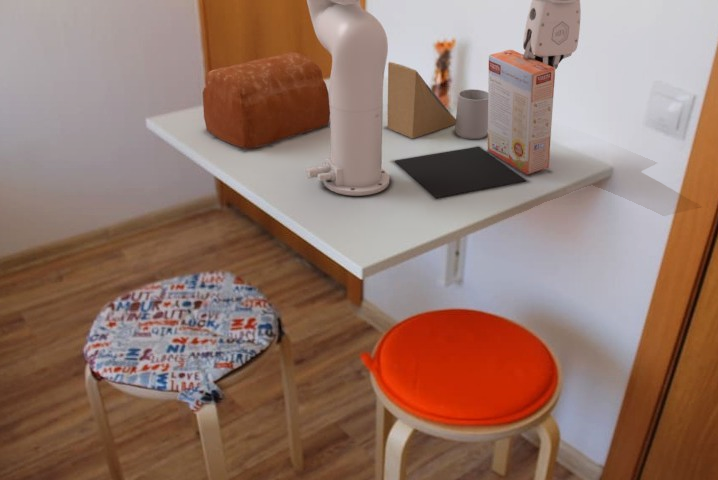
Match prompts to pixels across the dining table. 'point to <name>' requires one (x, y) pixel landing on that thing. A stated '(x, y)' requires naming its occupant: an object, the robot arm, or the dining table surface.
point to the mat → (459, 172)
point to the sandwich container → (413, 104)
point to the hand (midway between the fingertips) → (543, 88)
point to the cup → (472, 114)
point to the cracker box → (520, 110)
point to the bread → (265, 100)
